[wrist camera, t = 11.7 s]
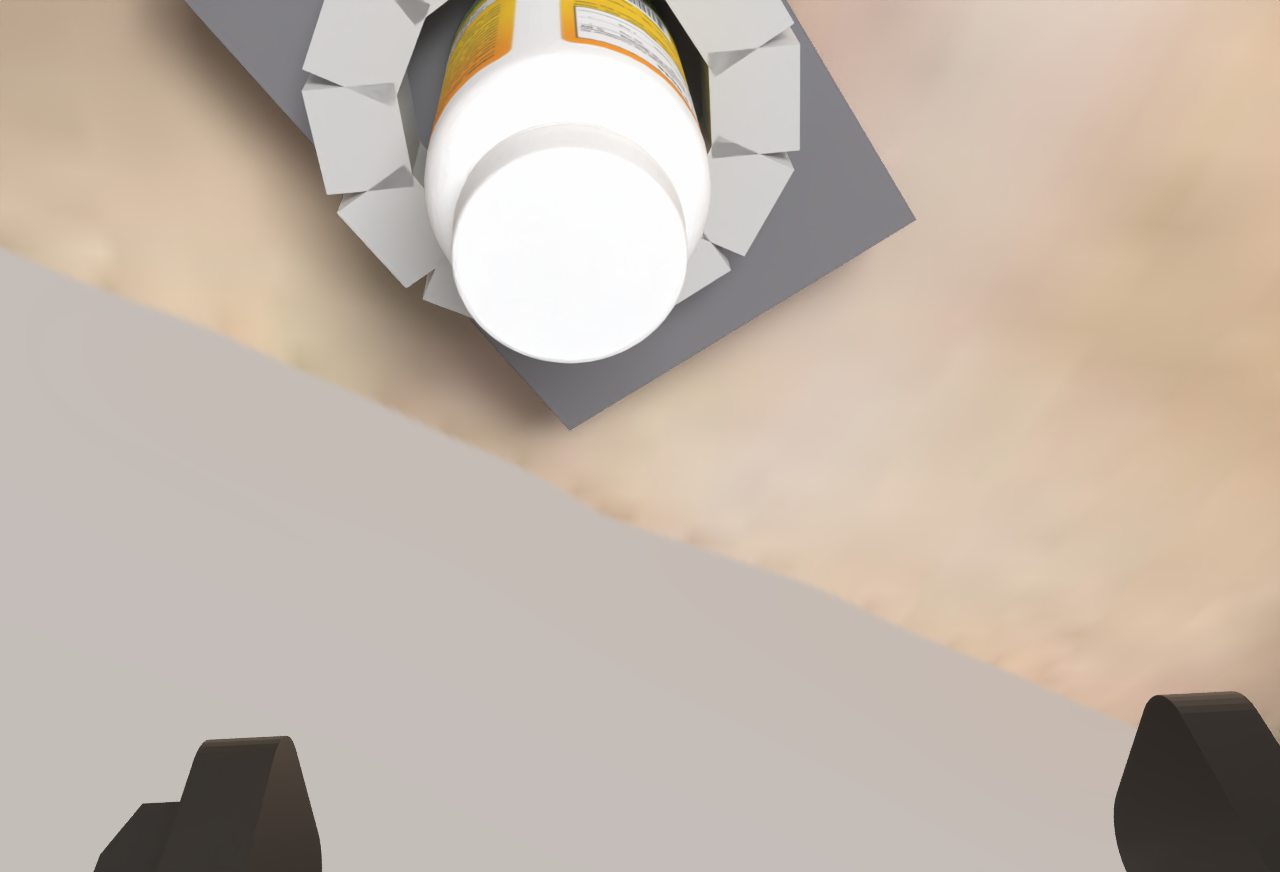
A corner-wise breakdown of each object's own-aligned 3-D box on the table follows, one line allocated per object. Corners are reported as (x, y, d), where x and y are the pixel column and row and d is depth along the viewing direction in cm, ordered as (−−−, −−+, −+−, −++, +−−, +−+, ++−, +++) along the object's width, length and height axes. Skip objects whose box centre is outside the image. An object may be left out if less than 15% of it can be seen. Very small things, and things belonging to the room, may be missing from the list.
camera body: (880, 160, 33) (937, 254, 29) (568, 357, 37) (570, 472, 32) (540, -414, 25) (537, -420, 21) (176, -100, 29) (98, -40, 24)
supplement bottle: (480, 203, 29) (453, 424, 21) (421, -19, 26) (364, 141, 18) (694, 164, 29) (748, 372, 21) (660, -65, 26) (707, 77, 18)
